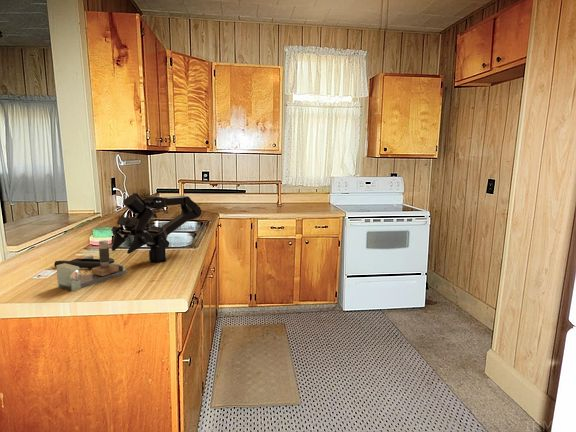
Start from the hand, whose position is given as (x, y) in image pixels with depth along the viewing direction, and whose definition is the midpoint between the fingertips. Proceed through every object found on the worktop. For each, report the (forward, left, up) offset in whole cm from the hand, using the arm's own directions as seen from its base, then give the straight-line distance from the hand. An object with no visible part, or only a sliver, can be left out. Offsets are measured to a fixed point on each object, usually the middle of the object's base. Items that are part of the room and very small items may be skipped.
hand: (120, 251), depth 141 cm
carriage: (+5, +5, -7) cm, 10 cm away
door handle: (+15, -15, -9) cm, 23 cm away
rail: (+8, +8, -8) cm, 14 cm away
